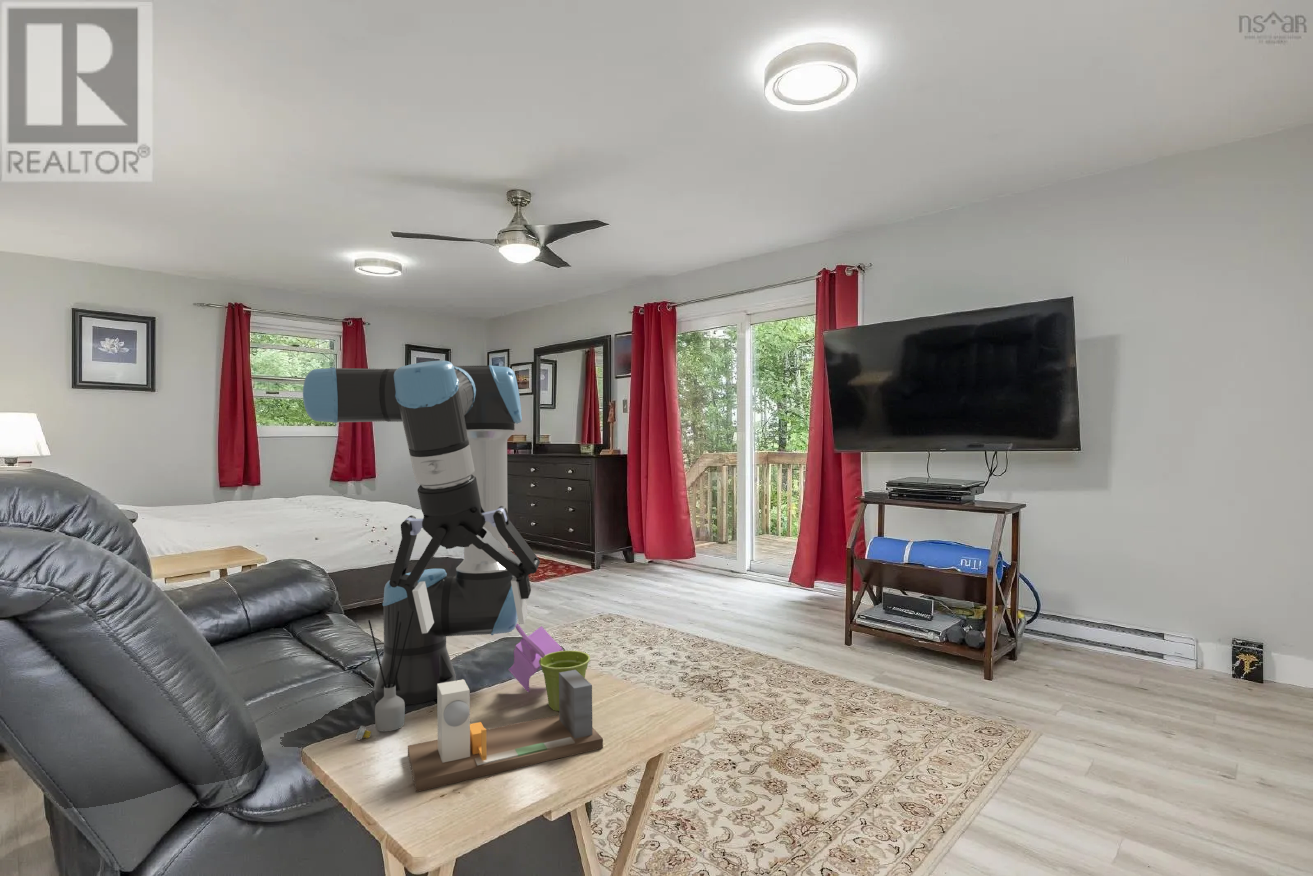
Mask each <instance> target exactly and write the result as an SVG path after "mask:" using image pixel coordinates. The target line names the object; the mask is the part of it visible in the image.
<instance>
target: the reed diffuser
mask: <svg viewBox="0 0 1313 876" xmlns="http://www.w3.org/2000/svg"><path fill="white" fill-rule="evenodd" d="M413 613H414V611H412V615H411V618H410V622H409V626H408V630H407V634H406V637H405V641H404V645H403V649H402V653H401V657H400V660H399V664H398V668H397V672H396V676H395V680H394V683H393V684H391V680H392V674H393V668H394V663H395V657H396V651H397V645H398V640H399V634H400V628H401V622H400V624H399V630H398V636H397V641H396V634H397V626H398V619H399V611H398V614H397V621H396V629H395V637H394V644H393V652H392V659H391V667H390V674H389V682H388V685H386V683H385V679H384V675H383V671H382V667H381V660H380V656H379V651H378V648H377V644H376V639H375V636H374V631H373V628H372V624H371V620H370V619H368V620H367V621H368V625H369V630H370V634H371V638H372V642H373V645H374V649H375V654H376V657H377V661H378V665H379V669H380V670H381V674H382V678H383V682H384V697H383V698H382V699H381V700H380V701H377V702H376V704H375V706H374V721H375V729H376V730H377V731H379V732H391V731H395V730H396V731H397V730H399V729H400V728H402V727H403V726H404V725H405V715H406V714H405V713H406V712H405V711H406V707H405V706H406V705H405V703H404V700H403V699H402V698H400V697H399V696H397V695H396V685H395V682H396V678H397V674H398V670H399V667H400V663H401V659H402V655H403V651H404V647H405V644H406V640H407V636H408V632H409V628H410V625H411V621H412V617H413ZM395 641H396V647H395ZM394 649H395V653H394ZM393 656H394V659H393ZM392 664H393V665H392ZM366 728H367V727H366V726H365V725H360V726H359V728H358V730H357V733H356V735H357V736H355V740H357V739H361V740H362V738H363V737H364V738H365V737H366V738H365V739H369V738H370V737H371V734H372V731H371V730H369V729H368V730H367V729H366ZM356 737H357V738H356Z"/></svg>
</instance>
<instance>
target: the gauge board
mask: <svg viewBox="0 0 1313 876" xmlns="http://www.w3.org/2000/svg"><path fill="white" fill-rule="evenodd" d="M601 749H604V738H603V737H602V735H600V734H599V733H598V731H596V729H595V728H594V727H593V684H592V683H590V682H589V681H588V680H587V679H586V677H585V678H584V677H583V676H582V675H581V674H580V673H579V672H577V671H576V670H571V671H565V672H560V673H559V711H558V714H557V715H556V714H555V715H551V716H547V717H541V718H535V719H532V720H527V721H522V722H517V723H512V724H507V725H502V726H497V727H492V728H489V729H487V728H486V754H487V760H483V761H482V759H481V756H480V754H479V753H478V754H474V755H473V754H472V751H471V749H470V757H467V758H462V759H458V760H453V761H449V762H444V763H442V760H441V757H440V754H439V751H438V739H434V740H429V741H424V742H420V743H419V742H418V743H414V744H409V745H407V757H409V758H408V763H409V766H411V767H410V771H411V770H412V771H411V774H412V775H413V776H412V779H414V780H413V784H415V785H414V789H415V793H419V792H422V791H427V790H431V789H435V788H439V787H443V786H448V785H453V784H456V783H460V782H465V781H469V780H472V779H478V778H482V777H487V776H490V775H494V774H498V773H503V772H507V771H511V770H515V769H518V768H519V769H520V768H525V767H528V766H533V765H536V764H541V763H545V762H548V761H554V760H557V759H561V758H566V757H570V756H574V755H579V754H583V753H587V752H591V751H596V750H601Z"/></svg>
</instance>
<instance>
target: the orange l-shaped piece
mask: <svg viewBox="0 0 1313 876" xmlns="http://www.w3.org/2000/svg"><path fill="white" fill-rule="evenodd" d="M486 730H487V728H485V727H484V724H482V722H481V721H479V722H478V721H477V722H473V723H470V749H471V751H472V754H473V755H474V754H478V753H479V754H480V756H481V759H482V761H483V760H487V754H486Z"/></svg>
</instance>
